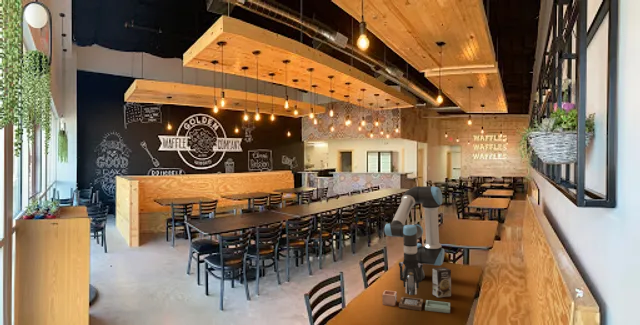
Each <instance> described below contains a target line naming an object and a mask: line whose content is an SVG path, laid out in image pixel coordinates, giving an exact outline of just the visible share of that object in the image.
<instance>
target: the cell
mask: <svg viewBox="0 0 640 325" xmlns="http://www.w3.org/2000/svg"><path fill="white" fill-rule="evenodd" d="M406 281H407V293H406V294H407V295H409V296H415V295H416V294H415V281H416V280H415V276H414V274H413V273H408V274H407V279H406Z"/></svg>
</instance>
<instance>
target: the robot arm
mask: <svg viewBox="0 0 640 325" xmlns="http://www.w3.org/2000/svg"><path fill="white" fill-rule="evenodd" d="M442 193H443V192H442V189H441V188H440V187H438V186H433V185H432V186H431V185H430V186H425V185H423V186H421V185H420V186H419V185H417V186H413V187H410V188H409V189H408V190H406V191H405V192H404V193H403V194H402V196H401V198H400V199H401V202H400V204H399V206H398V208H397V210H396V212H395V215H394V216H393V219H392V221H391V222H389V223H386V224H385V226H384V234H385V236H387V237H395V238H403V261H399V263H398V267H399V281H402V283H403V287H404V288H405V294H407V274H408V273H413V274H414V276H415V295H417V294H418V290H417V289H419V286H420V285H419V283H422V280H424V279H425V278H426V277H425V272H424V268H423V267H424V265H430V266H442V265H443V263H444V259H445V249H444V248H442V244H441V243H440V233H439V229H440V228H439V208H440V207H441V206H442V204H443V199H444V198H443V194H442ZM416 204H421V207H422V208H423V210H424V227H425V229H423V227H422V226H421V225H420V224H406V221H407V219H408V217H409V214H410V212H411V210H412V208H413V207H414V206H415V205H416ZM424 230H425V243H424V244H423V246H422V243H420V242H418V239H419V238H421V237H422V236H423V234H424Z"/></svg>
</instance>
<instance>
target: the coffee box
mask: <svg viewBox="0 0 640 325" xmlns="http://www.w3.org/2000/svg"><path fill="white" fill-rule="evenodd" d="M451 273H452V270H451V269H450V268H447V267H445V266H442V267H435V268H432V295H433V296H435V297H436V298H448V297H451V296H452V274H451Z"/></svg>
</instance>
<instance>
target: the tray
mask: <svg viewBox="0 0 640 325" xmlns="http://www.w3.org/2000/svg"><path fill="white" fill-rule="evenodd" d="M424 311H429V312H435V313H437V312H438V313H444V314H451V302H446V301H438V300H431V299H429V300H428V299H425V305H424Z"/></svg>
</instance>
